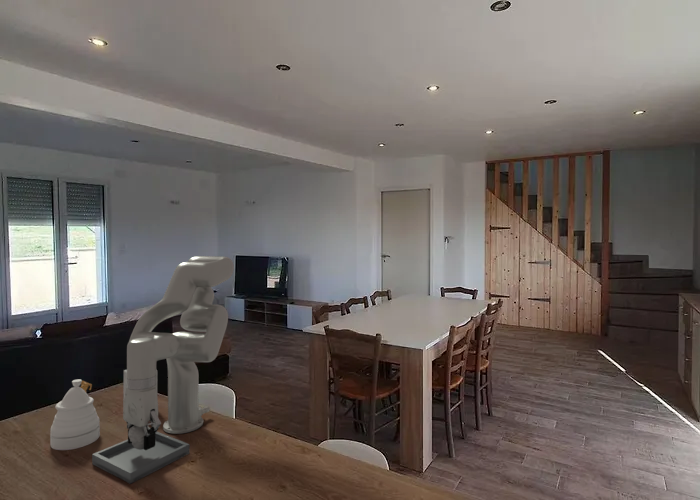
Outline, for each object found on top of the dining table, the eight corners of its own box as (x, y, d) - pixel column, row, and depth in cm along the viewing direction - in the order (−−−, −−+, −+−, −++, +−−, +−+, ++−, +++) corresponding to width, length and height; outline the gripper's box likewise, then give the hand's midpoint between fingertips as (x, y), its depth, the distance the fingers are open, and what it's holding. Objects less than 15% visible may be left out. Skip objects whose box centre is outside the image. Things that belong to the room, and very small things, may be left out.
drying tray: (151, 438, 133) (151, 429, 133) (189, 453, 123) (189, 444, 123) (92, 464, 117) (92, 454, 117) (130, 483, 108) (130, 473, 108)
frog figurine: (138, 442, 124) (138, 418, 124) (159, 445, 122) (159, 421, 122) (122, 451, 118) (122, 427, 118) (143, 455, 116) (143, 430, 116)
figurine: (82, 408, 155) (82, 376, 155) (97, 409, 154) (97, 377, 154) (63, 418, 147) (63, 383, 146) (79, 419, 146) (78, 385, 145)
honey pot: (57, 434, 135) (57, 378, 134) (103, 428, 139) (103, 374, 139) (44, 453, 123) (43, 392, 122) (95, 446, 127) (94, 387, 127)
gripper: (111, 380, 121) (111, 442, 121) (148, 392, 112) (147, 458, 112) (136, 373, 127) (135, 432, 128) (172, 384, 118) (172, 447, 119)
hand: (141, 444), depth 120 cm, fingers closed on frog figurine, 6 cm apart
